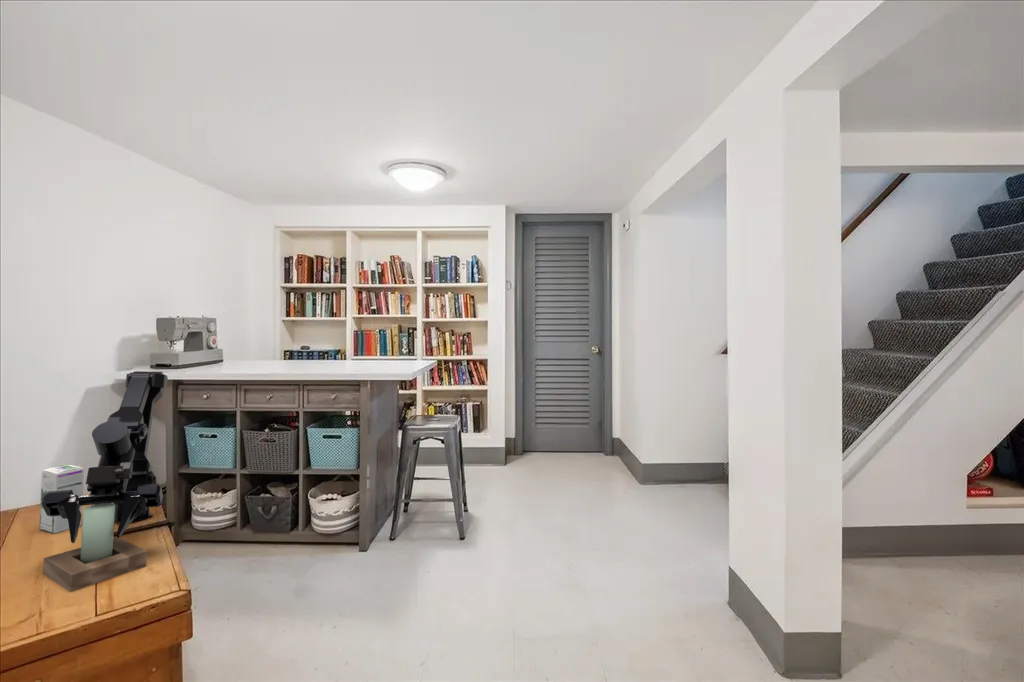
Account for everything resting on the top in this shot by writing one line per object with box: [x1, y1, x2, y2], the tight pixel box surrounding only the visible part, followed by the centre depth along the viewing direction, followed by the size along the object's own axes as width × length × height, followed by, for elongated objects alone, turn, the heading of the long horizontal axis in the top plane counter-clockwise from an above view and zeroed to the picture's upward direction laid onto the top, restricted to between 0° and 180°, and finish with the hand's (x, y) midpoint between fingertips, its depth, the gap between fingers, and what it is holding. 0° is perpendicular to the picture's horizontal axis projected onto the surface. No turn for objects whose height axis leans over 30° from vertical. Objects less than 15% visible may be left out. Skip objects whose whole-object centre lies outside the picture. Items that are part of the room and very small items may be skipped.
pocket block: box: [42, 537, 148, 593], centre depth 94 cm, size 12×12×4 cm
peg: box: [80, 503, 115, 564], centre depth 94 cm, size 5×5×12 cm
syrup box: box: [38, 464, 85, 534], centre depth 113 cm, size 6×6×14 cm
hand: (95, 539), depth 93 cm, fingers open, 7 cm apart
